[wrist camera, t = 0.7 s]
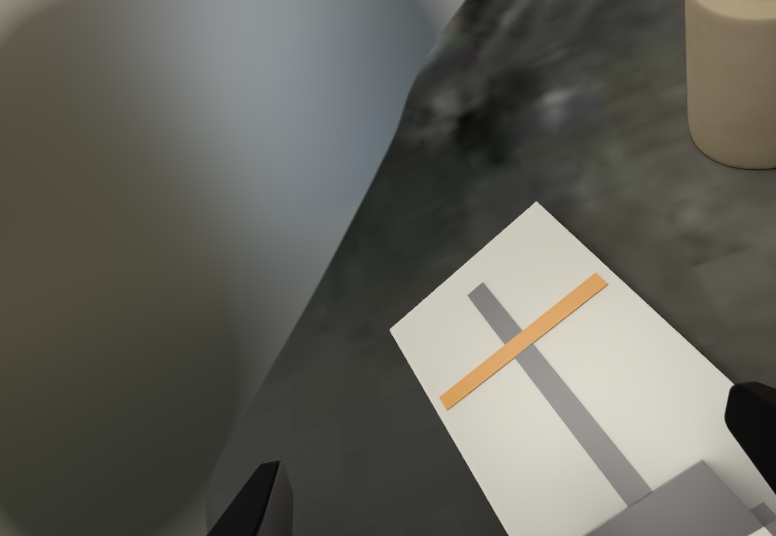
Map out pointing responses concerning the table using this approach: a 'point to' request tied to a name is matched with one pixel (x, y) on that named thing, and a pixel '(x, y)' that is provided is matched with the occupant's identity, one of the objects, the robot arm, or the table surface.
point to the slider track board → (568, 385)
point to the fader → (685, 510)
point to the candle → (732, 80)
